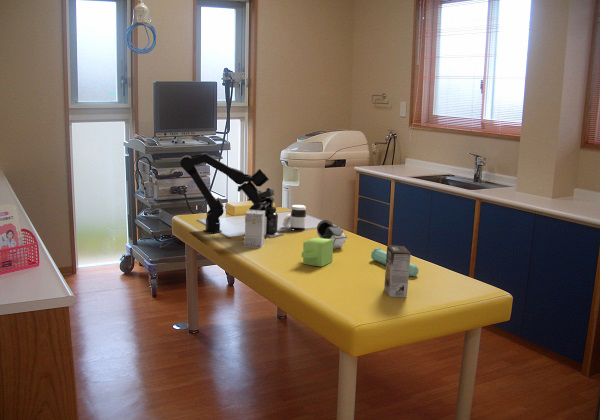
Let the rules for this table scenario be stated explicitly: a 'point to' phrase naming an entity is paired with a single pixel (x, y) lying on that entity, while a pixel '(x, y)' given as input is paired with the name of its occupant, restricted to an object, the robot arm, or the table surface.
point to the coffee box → (397, 271)
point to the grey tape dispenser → (331, 233)
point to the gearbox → (317, 251)
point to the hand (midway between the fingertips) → (273, 218)
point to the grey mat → (273, 235)
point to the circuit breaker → (255, 228)
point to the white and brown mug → (296, 218)
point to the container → (381, 257)
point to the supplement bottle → (272, 224)
